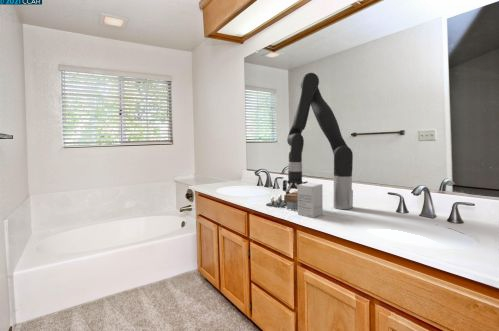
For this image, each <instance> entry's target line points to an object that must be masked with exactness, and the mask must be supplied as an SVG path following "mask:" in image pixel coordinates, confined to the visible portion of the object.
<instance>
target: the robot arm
mask: <svg viewBox="0 0 499 331" xmlns="http://www.w3.org/2000/svg"><path fill="white" fill-rule="evenodd" d="M319 84H320V78H319V77H318V75H317V74H315V73H314V72H309V73H306V74H305V75H304V76H302V78H301V82H300V89H301V92H300V97H299V101H298V104H297V108H296V110H295V113H294V117H293V122H292V125H291V127H290V130H289V132H288V135H287V138H286V139H287V140H286V141H287V144H288V145H289V146H290V151H289V153H288V164H287V165H288V166H287V171H288V173H287V178H288V179H284V180H282V191H283V192H285V195H286V194H289V193H291V192H290V191H291V190H292V189H295V190H298V185H300V184H305V183H309V182H308V181H303V162H302V161H303V157H302V156H303V155H302V154H303V149H304V145H305V144H304V143H305V142H304V137H303V135H302V133H303V131H304V130H305V129H306V126H307V121H308V117H309V113H310V109H312V112H313V114H314V117H315V119H316V121H317V123H318V125H319V128H320V129H321V130H322V133H323V135H324V136H325V137H326V139H327V141H328V142H329V145H330V148H331V151H332V154H333V208H334V209H338V210H351V209H352V208H353V207H354V189H352V188H353V184H352V183H353V166H354V165H353V164H354V163H353V158H354V156H353V155H354V154H353V150H352V149H351V148H350V147H349V146H348V145H347V143H346V141H345V140H344V138H343V135H342V132H341V129H340V125H339V123H338V120H337V117H336V115H335V114H334V111H333V110H332V108H331V107H330V105H329V104H328V102H326V101H325V99H324V98H323V96H322V94H321V91H320V88H319Z"/></svg>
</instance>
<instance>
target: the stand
mask: <svg viewBox="0 0 499 331" xmlns="http://www.w3.org/2000/svg"><path fill="white" fill-rule="evenodd" d="M295 208H296V209H298V202H296V203H292V202H287V205H286V210H288V209H291V210H290V211H294V210H296V209H295ZM293 209H294V210H293Z"/></svg>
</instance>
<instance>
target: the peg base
mask: <svg viewBox="0 0 499 331" xmlns="http://www.w3.org/2000/svg"><path fill="white" fill-rule="evenodd" d="M275 199H276V200H275ZM285 205H286V206H287V202H284V200H283V195H282V194H278V197H276V198H275V197H274V196H273V197H272V196H271V197H270V202H268V203H266V205H265V206H267V207H272V208H279V207H281V208H283V207H286V206H285Z"/></svg>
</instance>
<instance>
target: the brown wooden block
mask: <svg viewBox="0 0 499 331" xmlns="http://www.w3.org/2000/svg"><path fill="white" fill-rule="evenodd" d="M283 199H284V202H292V203H296V202H298V190H296V191H293V192H290V193H289V194H286V193H285V194H284V196H283Z"/></svg>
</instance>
